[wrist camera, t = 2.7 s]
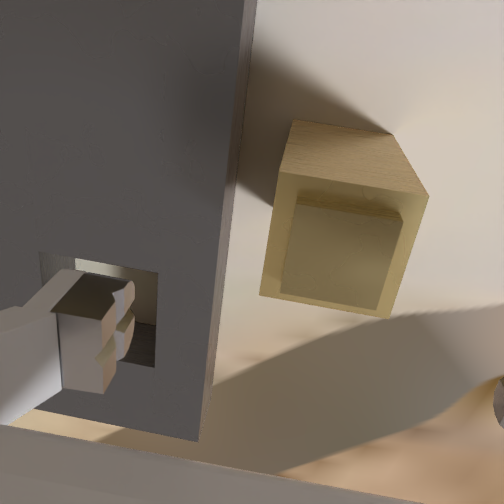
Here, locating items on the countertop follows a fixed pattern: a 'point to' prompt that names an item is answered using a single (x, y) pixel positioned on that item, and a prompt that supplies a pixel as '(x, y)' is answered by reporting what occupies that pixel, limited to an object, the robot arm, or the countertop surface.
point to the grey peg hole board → (126, 178)
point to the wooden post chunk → (342, 220)
